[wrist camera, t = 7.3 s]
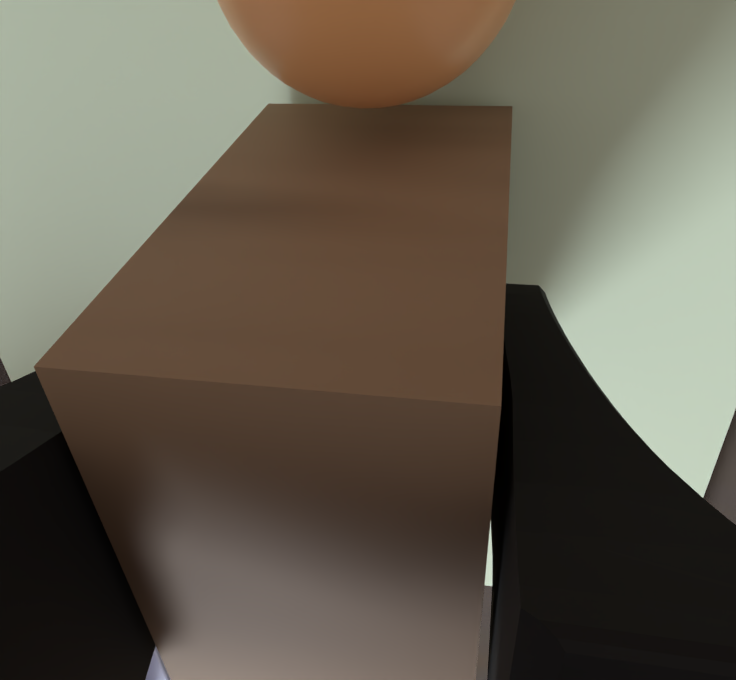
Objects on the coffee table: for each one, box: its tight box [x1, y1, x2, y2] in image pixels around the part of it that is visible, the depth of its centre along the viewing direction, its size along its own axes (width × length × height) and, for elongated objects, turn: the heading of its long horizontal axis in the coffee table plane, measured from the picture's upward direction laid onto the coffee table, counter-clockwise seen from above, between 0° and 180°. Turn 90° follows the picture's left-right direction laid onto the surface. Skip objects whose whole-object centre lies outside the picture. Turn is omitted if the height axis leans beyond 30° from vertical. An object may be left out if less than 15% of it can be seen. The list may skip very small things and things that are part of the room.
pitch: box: [0, 0, 736, 586], centre depth 12 cm, size 24×17×4 cm
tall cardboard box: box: [34, 103, 513, 680], centre depth 10 cm, size 6×4×7 cm, turn 3°
